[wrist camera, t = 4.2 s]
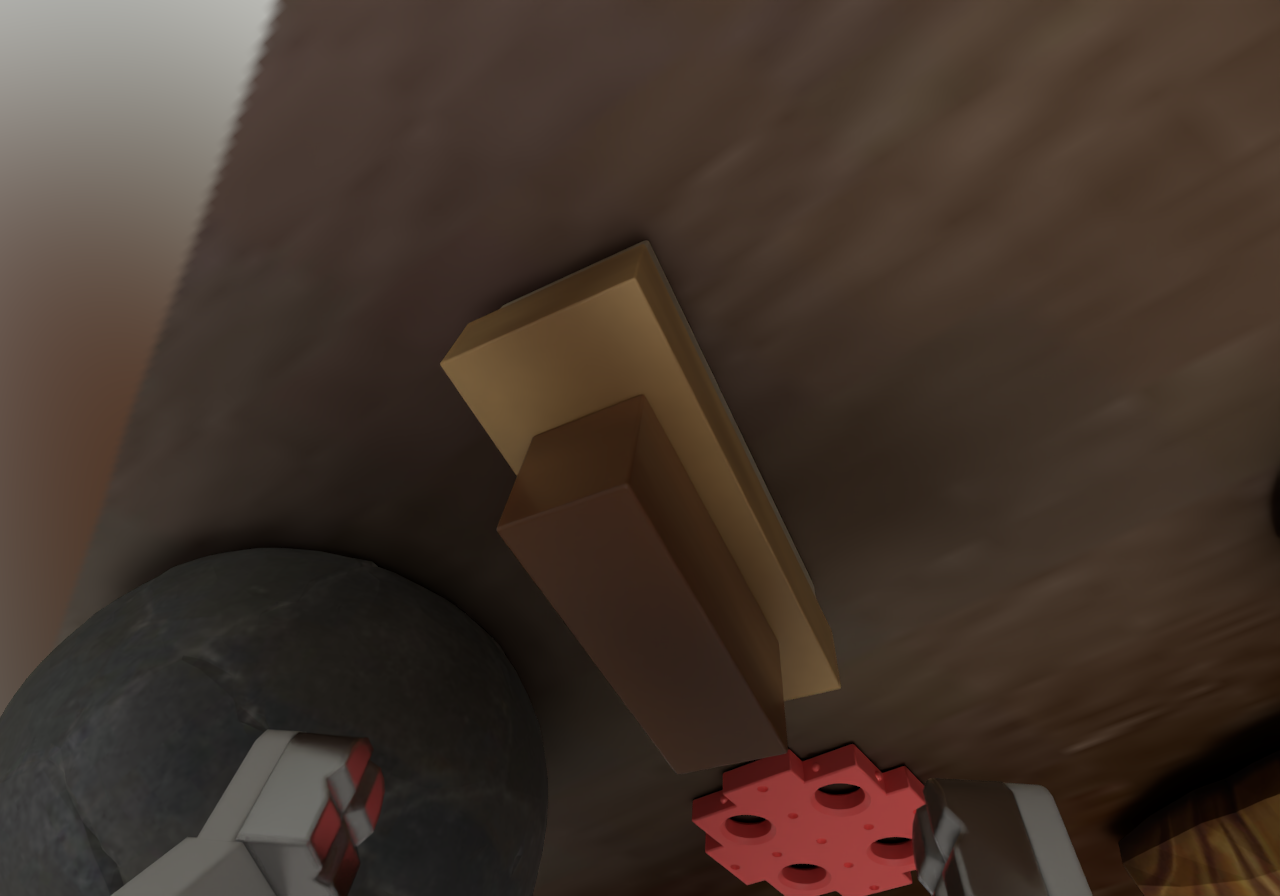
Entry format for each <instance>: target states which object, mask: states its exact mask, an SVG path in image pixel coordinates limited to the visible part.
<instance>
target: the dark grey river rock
mask: <svg viewBox="0 0 1280 896" xmlns="http://www.w3.org/2000/svg"><path fill="white" fill-rule="evenodd" d="M267 729H269V730H286V731H302V732H307V733H319V734H332V735H346V736H360V737H368V738H369V740H370V743H371V745H372V747H373V749H374V751H373V754H372V756H371V758H370V760H371V761H372V762H374V763H375V764H376V765H378V766H379V767H380V768H381V770H382V773H383V776H384V784H385V794H384V799H383V804H382V810H381V814H380V816H379V819H378V822H377V824H376V827H375V829H374V832H373V833H372V834H371V835H370V836H369V837H368V838H366V839H365V840H364V841H363V842H362V843H361V844H360V845H359V846H357V848H358V853H359V857H360V861H361V865H360V867H359V869H358V872H357V874H356V877H355V879H354V882H353V884H352V887H351V889H350V892H349V894H348V896H532V895H533V891H534V888H535V883H536V879H537V874H538V870H539V865H540V861H541V856H542V852H543V845H544V838H545V832H546V825H547V809H548V777H547V768H546V759H545V753H544V747H543V742H542V736H541V731H540V726H539V723H538V720H537V717H536V715H535V712H534V709H533V707H532V704H531V701H530V699H529V696H528V694H527V692H526V690H525V688H524V686H523V684H522V682H521V680H520V678H519V676H518V674H517V672H516V670H515V669H514V667H513V666H512V664H511V663H510V662H509V660H508V659H507V657H506V656H505V654H504V652H503V650H502V648H501V646H500V645H499V644H498V643H497V642H496V641H495V640H494V639H493V638H492V637H491V636H490V635H489V634H488V633H487V632H486V631H485V630H484V629H483V628H481V627H480V626H479V625H478V624H477V623H476V622H474V621H473V620H472V619H471V618H470V617H469V616H468V615H467V614H465V613H464V612H463V611H461V610H460V609H459V608H457V607H456V606H455V605H453V604H452V603H450V602H449V601H448V600H446V599H445V598H443V597H441V596H439V595H437V594H435V593H433V592H431V591H429V590H428V589H426V588H424V587H422V586H420V585H418V584H416V583H414V582H412V581H410V580H408V579H406V578H404V577H402V576H400V575H398V574H396V573H394V572H391V571H388V570H385V569H383V568H380V567H378V566H377V565H376V564H375V563H373V562H372V561H367V560H361V559H355V558H350V557H345V556H340V555H336V554H331V553H326V552H322V551H313V550H302V549H291V548H254V549H247V550H240V551H232V552H225V553H220V554H215V555H211V556H206V557H202V558H199V559H196V560H193V561H190V562H187V563H184V564H181V565H178V566H175V567H172V568H171V569H169V570H167V571H166V572H164V573H163V574H161V575H160V576H158V577H156V578H154V579H152V580H151V581H149V582H147V583H145V584H143V585H141V586H139V587H137V588H136V589H134V590H132V591H130V592H129V593H127V594H125V595H124V596H122V597H120V598H118V599H117V600H115V601H114V602H112V603H111V604H109V605H107V606H106V607H104V608H103V609H101V610H100V611H98V612H97V613H95V614H94V615H93V616H92V617H91V618H89V619H88V620H87V621H86V622H85V623H84V624H82V625H81V626H80V627H79V628H78V629H76V630H75V631H74V632H73V633H72V634H71V635H69V636H68V637H67V638H66V639H65V640H64V641H63V642H62V643H61V644H60V645H58V646H57V647H56V648H55V649H54V650H53V651H52V652H51V653H50V654H49V655H48V656H47V657H46V658H45V659H44V660H43V661H42V662H41V663H40V664H39V665H38V666H37V668H36V669H35V670H34V671H33V672H32V673H31V674H30V675H29V677H28V678H27V679H26V680H25V682H24V683H23V684H22V686H21V687H20V688H19V690H18V691H17V692H16V694H15V695H14V696H13V698H12V700H11V701H10V702H9V704H8V705H7V707H6V709H5V711H4V712H3V714H2V716H1V718H0V896H111V895H112V894H113V893H115V892H116V891H117V890H119V889H120V888H121V887H123V886H124V885H125V884H126V883H128V882H129V881H130V880H132V879H133V878H134V877H136V876H137V875H138V874H140V873H141V872H142V871H143V870H145V869H146V868H147V867H149V866H150V865H151V864H153V863H154V862H155V861H157V860H158V859H159V858H161V857H162V856H163V855H164V854H166V853H167V852H168V851H170V850H171V849H172V848H174V847H175V846H176V845H178V844H179V843H180V842H181V841H183V840H184V839H185V838H187V837H198V835H199V833H200V832H201V830H202V828H203V827H204V825H205V823H206V822H207V820H208V818H209V817H210V815H211V813H212V812H213V810H214V808H215V807H216V805H217V803H218V802H219V800H220V799H221V797H222V795H223V794H224V792H225V790H226V789H227V787H228V785H229V784H230V782H231V780H232V779H233V777H234V775H235V774H236V772H237V770H238V769H239V767H240V765H241V764H242V762H243V760H244V759H245V757H246V755H247V754H248V752H249V750H250V749H251V747H252V745H253V744H254V742H255V741H256V740H257V739H258V738H259V737H260V736H261V735H262V734H263V733H264V732H265V731H266V730H267Z"/></svg>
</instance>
